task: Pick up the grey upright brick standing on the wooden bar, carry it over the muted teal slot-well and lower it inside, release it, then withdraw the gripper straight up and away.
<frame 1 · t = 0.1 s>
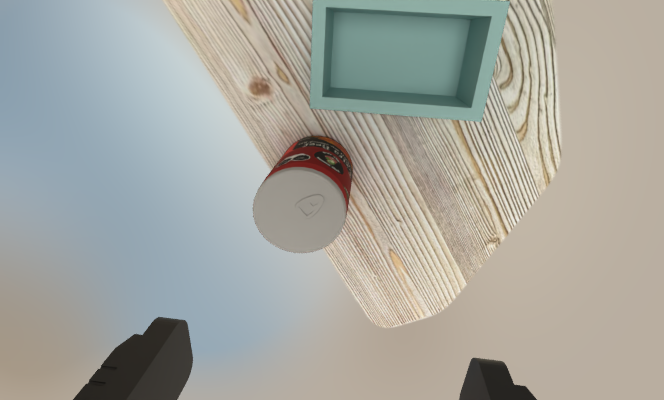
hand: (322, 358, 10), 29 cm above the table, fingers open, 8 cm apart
canned food: (317, 167, 39), on the table
well: (396, 54, 33), on the table
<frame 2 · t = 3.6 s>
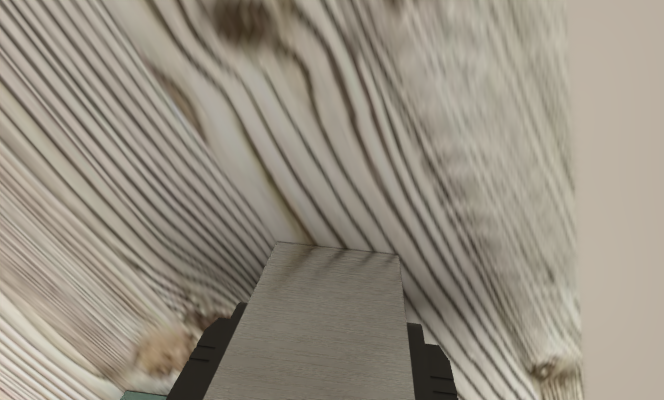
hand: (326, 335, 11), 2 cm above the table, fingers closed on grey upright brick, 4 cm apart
grey upright brick: (333, 296, 12), on the table, touching gripper
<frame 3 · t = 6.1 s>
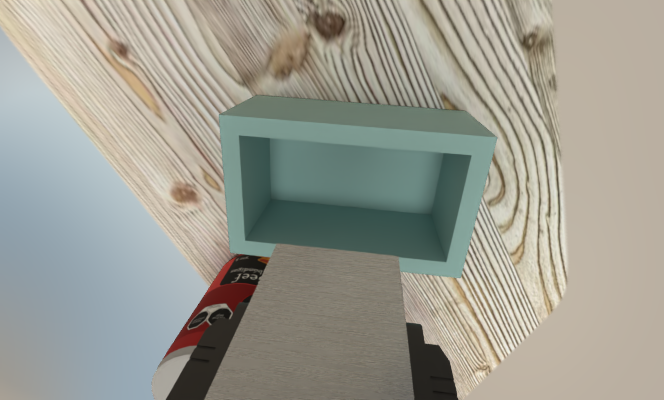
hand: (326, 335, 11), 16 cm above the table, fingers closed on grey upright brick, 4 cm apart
grey upright brick: (333, 297, 12), point 15 cm above the table, touching gripper
canned food: (264, 283, 31), on the table
well: (353, 162, 26), on the table
when the fingers open (4 cm above the table, at t = 8.6 s): grey upright brick drops 1 cm, resting on well.
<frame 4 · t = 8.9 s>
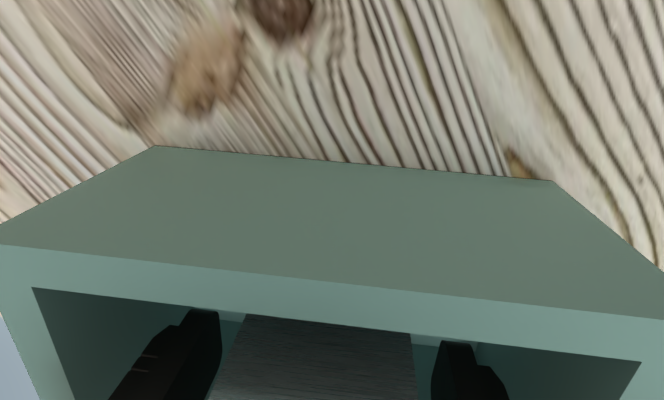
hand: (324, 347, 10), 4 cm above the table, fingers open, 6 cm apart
grey upright brick: (339, 272, 14), point 1 cm above the table, touching well
well: (337, 262, 14), on the table
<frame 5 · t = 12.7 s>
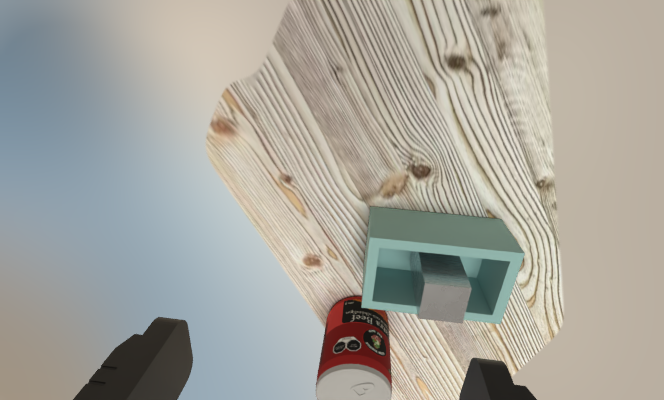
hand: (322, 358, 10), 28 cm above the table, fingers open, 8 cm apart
grey upright brick: (429, 248, 40), point 1 cm above the table, touching well
canned food: (357, 316, 46), on the table
well: (428, 245, 40), on the table
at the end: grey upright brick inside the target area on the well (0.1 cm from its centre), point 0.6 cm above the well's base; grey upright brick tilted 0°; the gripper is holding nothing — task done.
